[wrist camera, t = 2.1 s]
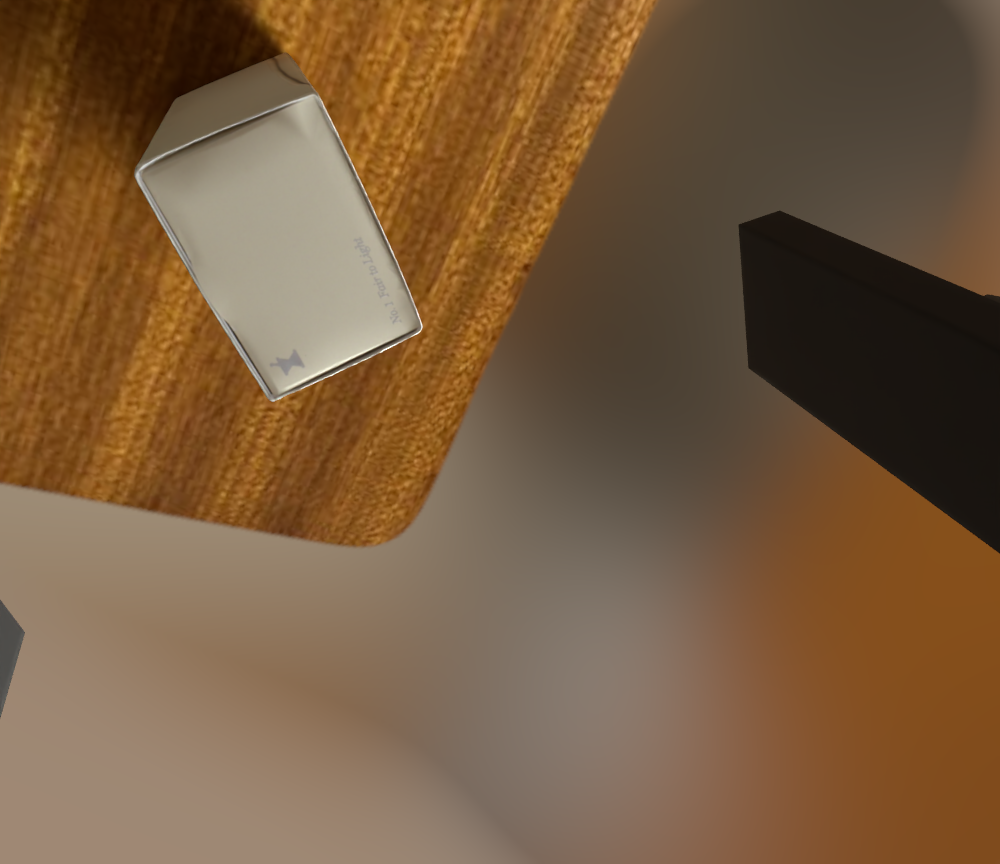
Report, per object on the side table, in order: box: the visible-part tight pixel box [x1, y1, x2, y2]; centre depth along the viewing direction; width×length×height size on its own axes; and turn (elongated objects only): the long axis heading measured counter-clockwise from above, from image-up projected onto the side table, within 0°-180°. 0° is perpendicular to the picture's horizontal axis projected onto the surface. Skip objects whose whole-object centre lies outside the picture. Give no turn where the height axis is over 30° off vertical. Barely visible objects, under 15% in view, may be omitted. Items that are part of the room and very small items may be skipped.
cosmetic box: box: [134, 53, 422, 402], centre depth 24 cm, size 6×4×12 cm
